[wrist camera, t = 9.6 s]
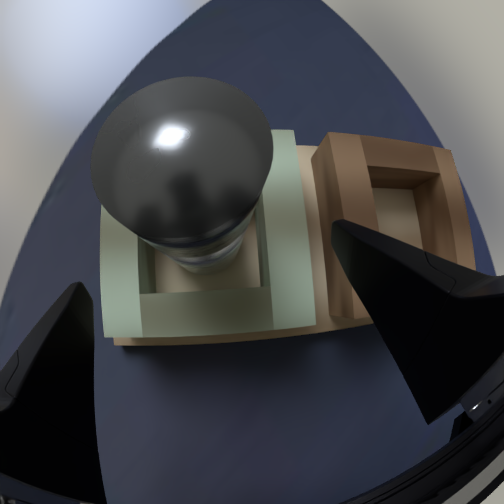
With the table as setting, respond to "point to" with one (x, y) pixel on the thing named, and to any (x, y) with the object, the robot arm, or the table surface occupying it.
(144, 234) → the shiny grey rounded piece
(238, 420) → the table surface
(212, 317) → the wooden desk organizer
